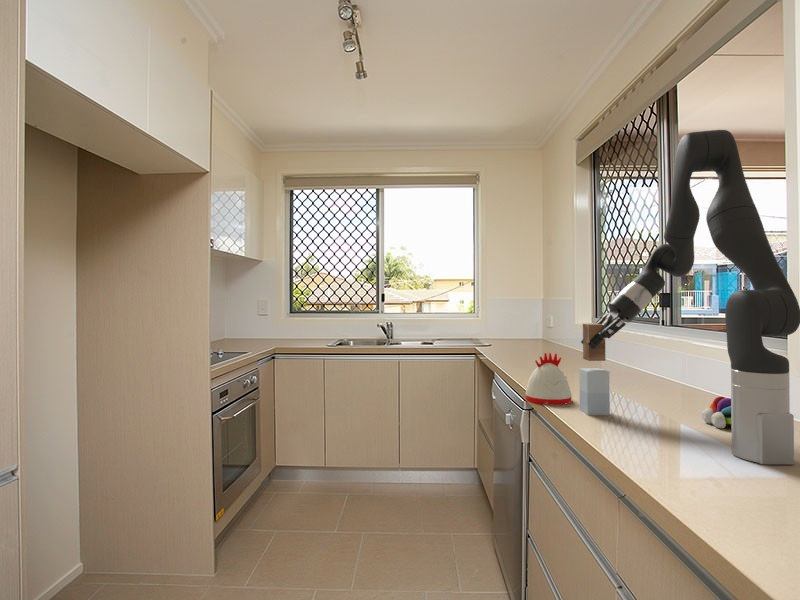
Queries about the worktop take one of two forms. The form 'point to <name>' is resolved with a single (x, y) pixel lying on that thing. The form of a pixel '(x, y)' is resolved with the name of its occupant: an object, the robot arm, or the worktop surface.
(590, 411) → the tower base
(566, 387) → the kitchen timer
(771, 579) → the worktop surface
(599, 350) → the walnut post
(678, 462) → the worktop surface
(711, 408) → the multicoloured plush toy
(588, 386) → the tower top
